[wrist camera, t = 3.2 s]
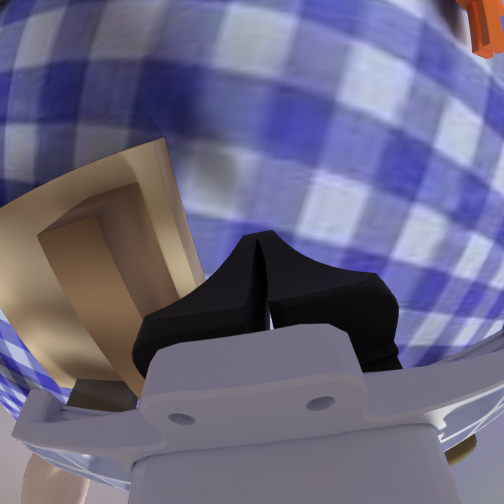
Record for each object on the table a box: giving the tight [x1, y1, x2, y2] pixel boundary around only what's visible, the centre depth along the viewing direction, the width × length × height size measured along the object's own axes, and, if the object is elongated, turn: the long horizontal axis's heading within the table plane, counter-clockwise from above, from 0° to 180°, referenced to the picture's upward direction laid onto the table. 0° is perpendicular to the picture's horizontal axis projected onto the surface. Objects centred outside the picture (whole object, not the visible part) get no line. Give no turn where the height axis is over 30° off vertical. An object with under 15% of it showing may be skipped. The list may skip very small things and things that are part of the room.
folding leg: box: [37, 182, 180, 400], centre depth 13 cm, size 14×3×4 cm, turn 11°
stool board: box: [0, 137, 206, 413], centre depth 14 cm, size 17×18×6 cm
